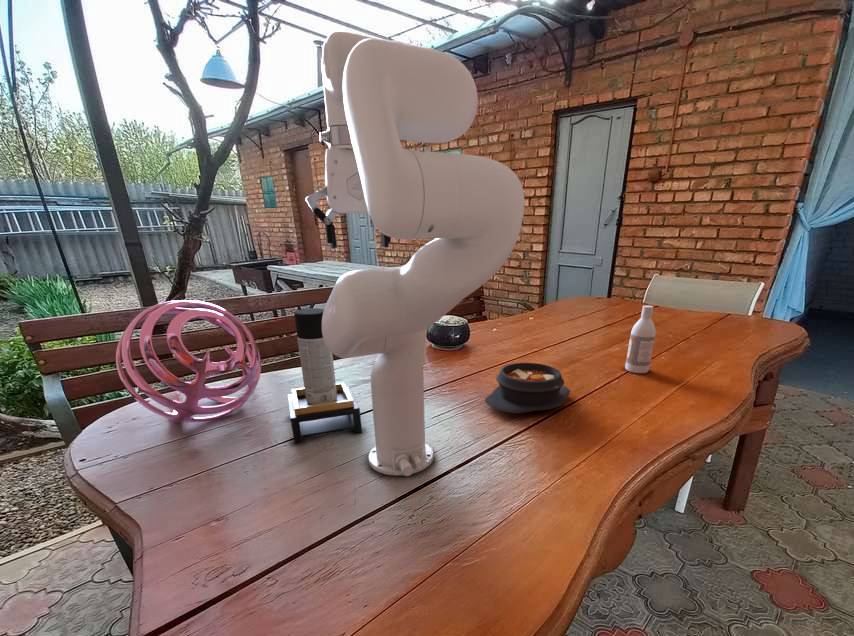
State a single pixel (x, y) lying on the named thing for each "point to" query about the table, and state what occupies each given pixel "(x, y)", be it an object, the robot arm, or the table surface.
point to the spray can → (315, 357)
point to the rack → (323, 414)
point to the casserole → (528, 388)
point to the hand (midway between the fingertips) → (359, 247)
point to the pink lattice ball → (190, 362)
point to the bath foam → (641, 343)
